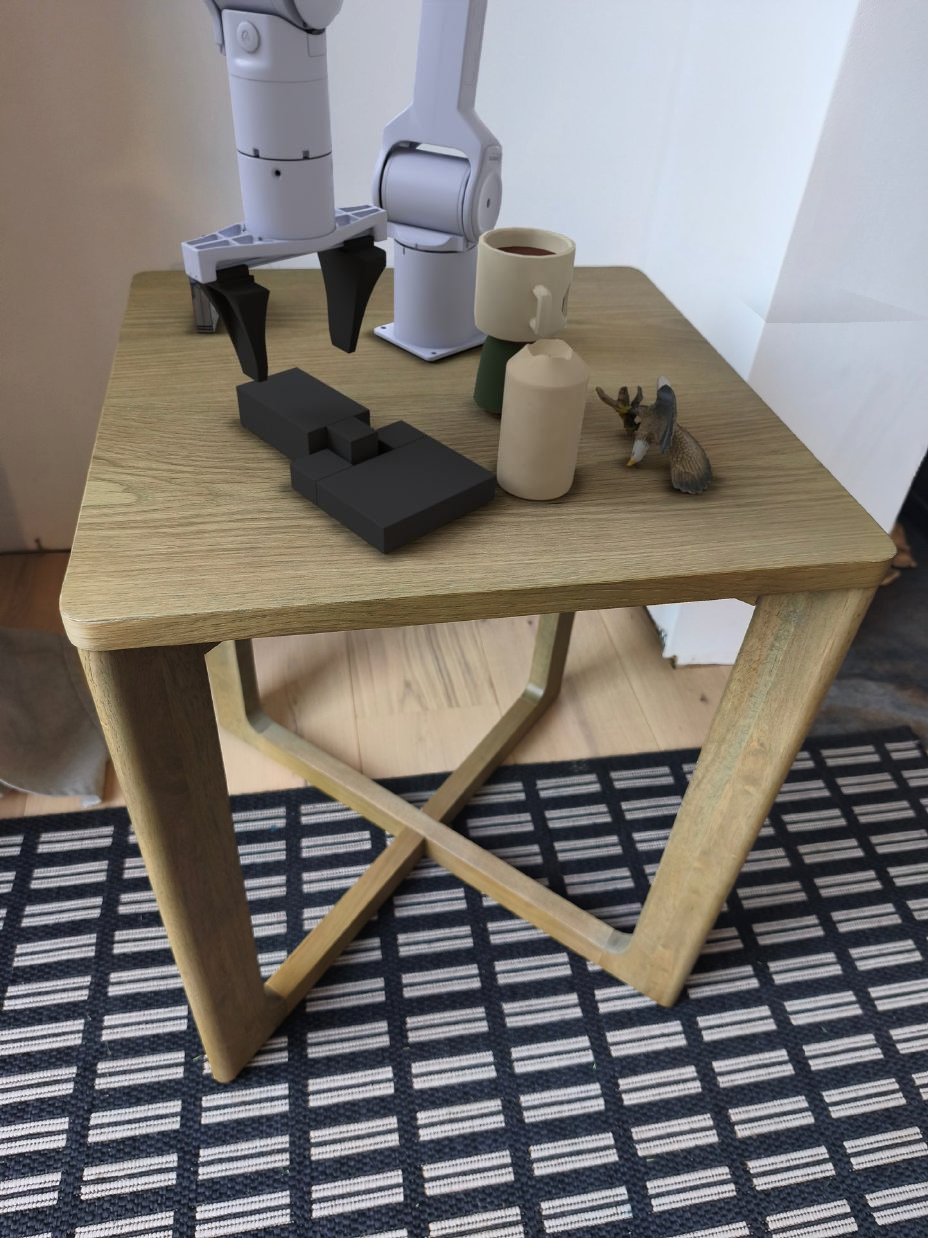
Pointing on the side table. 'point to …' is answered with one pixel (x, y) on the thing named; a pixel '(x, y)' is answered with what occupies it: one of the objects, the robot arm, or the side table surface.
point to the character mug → (517, 299)
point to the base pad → (395, 486)
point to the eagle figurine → (663, 435)
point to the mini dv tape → (202, 309)
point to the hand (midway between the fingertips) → (300, 361)
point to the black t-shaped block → (306, 417)
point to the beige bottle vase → (541, 420)
